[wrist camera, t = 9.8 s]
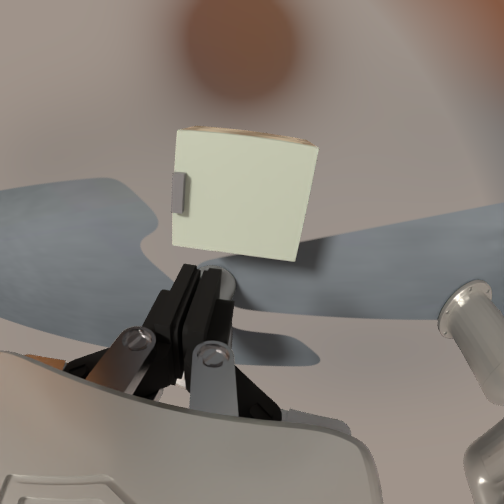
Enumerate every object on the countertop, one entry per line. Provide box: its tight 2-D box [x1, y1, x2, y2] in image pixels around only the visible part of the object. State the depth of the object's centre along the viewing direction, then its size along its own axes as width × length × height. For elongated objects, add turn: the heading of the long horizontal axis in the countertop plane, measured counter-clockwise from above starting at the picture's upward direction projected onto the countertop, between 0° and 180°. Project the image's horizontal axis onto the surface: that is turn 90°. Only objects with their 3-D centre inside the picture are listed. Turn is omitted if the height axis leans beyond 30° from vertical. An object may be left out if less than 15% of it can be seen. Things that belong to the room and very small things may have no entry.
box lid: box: [171, 130, 319, 262], centre depth 25 cm, size 12×11×2 cm
